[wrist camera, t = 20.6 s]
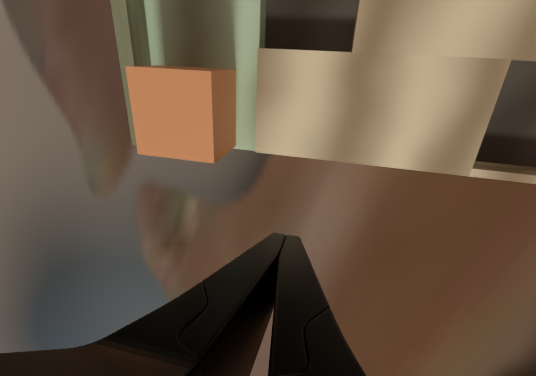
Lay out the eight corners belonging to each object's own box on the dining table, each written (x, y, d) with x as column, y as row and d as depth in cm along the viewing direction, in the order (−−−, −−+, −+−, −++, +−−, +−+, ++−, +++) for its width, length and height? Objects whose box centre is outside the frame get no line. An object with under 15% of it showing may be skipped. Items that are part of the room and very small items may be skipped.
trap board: (848, -100, 12) (1032, -158, 9) (658, 187, 17) (729, 215, 14) (137, -72, 18) (94, -101, 15) (160, 133, 23) (132, 144, 20)
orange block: (236, 69, 18) (211, 71, 15) (236, 145, 20) (214, 163, 17) (164, 65, 19) (124, 66, 16) (171, 138, 21) (138, 153, 18)
